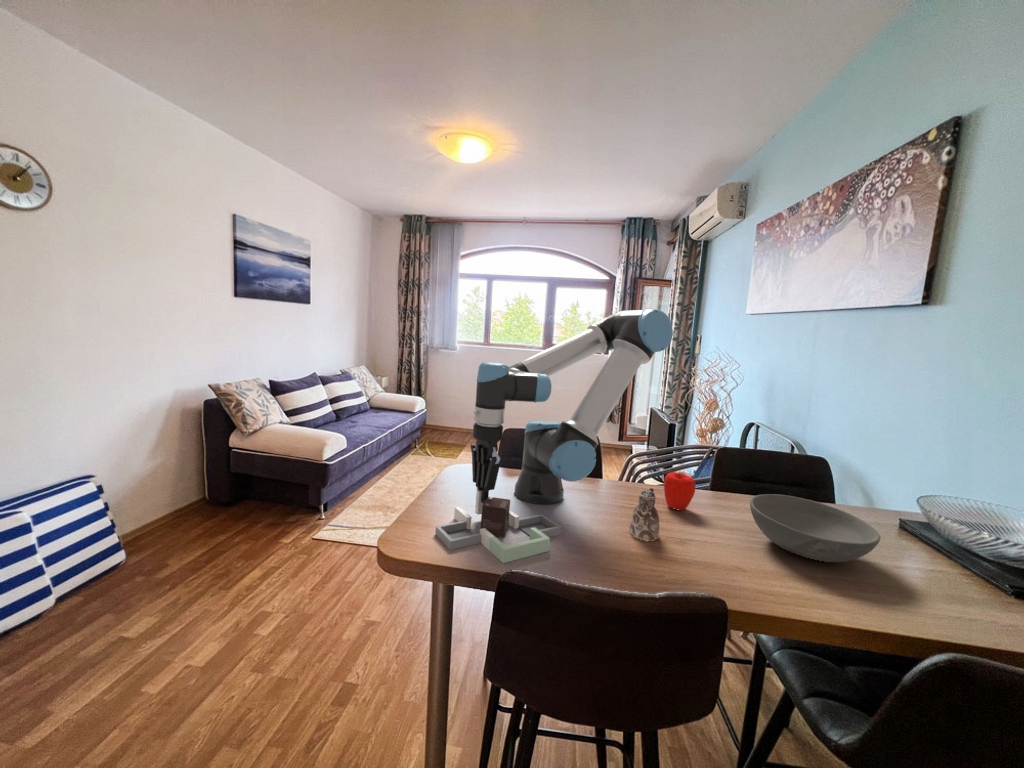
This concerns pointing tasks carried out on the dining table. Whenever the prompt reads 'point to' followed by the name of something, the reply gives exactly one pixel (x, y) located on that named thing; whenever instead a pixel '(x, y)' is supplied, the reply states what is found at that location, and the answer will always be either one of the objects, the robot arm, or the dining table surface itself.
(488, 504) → the box
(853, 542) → the bowl
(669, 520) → the dining table surface
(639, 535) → the figurine
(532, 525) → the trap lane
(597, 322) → the robot arm
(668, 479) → the apple
